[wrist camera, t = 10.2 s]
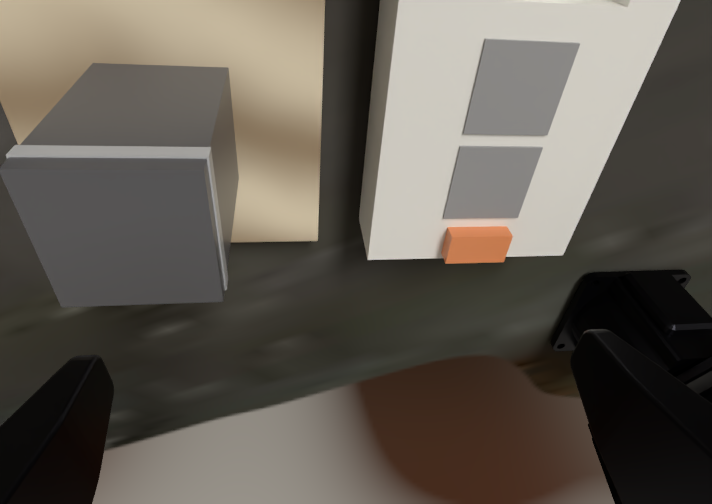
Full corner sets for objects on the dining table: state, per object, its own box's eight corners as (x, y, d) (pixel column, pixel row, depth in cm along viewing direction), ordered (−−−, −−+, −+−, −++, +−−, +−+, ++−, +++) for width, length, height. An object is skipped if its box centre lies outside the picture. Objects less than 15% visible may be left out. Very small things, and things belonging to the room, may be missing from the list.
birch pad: (316, 227, 23) (317, 240, 22) (67, 231, 21) (60, 245, 20) (323, -41, 16) (326, -35, 15) (-48, -65, 14) (-67, -61, 13)
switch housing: (535, 216, 24) (569, 265, 21) (358, 219, 23) (369, 270, 20) (753, -346, 12) (893, -404, 10) (419, -407, 11) (466, -495, 8)
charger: (240, 178, 19) (225, 302, 14) (123, 178, 19) (60, 308, 13) (229, 66, 16) (205, 168, 11) (90, 61, 16) (-6, 167, 10)
